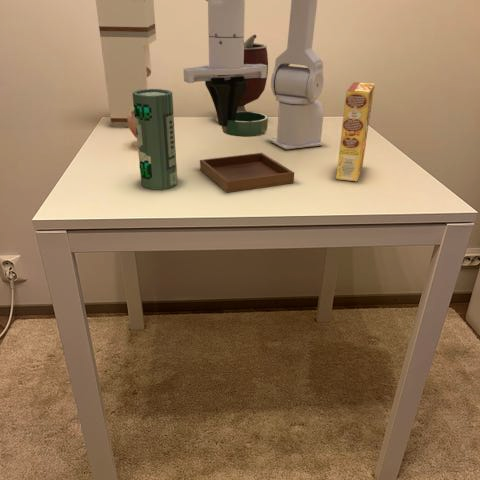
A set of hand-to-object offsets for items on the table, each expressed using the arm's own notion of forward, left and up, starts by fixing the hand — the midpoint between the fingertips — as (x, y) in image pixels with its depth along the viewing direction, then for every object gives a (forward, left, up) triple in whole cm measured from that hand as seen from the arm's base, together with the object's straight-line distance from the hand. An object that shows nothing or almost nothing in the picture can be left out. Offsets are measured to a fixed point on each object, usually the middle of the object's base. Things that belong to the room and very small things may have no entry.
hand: (226, 125), depth 87 cm
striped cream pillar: (+5, -47, -9) cm, 48 cm away
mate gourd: (-20, -39, -9) cm, 45 cm away
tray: (-3, +1, -9) cm, 10 cm away
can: (+13, -1, -9) cm, 16 cm away
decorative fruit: (+8, -25, -9) cm, 27 cm away
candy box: (-22, +7, -9) cm, 25 cm away
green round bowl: (-4, 0, -1) cm, 4 cm away
